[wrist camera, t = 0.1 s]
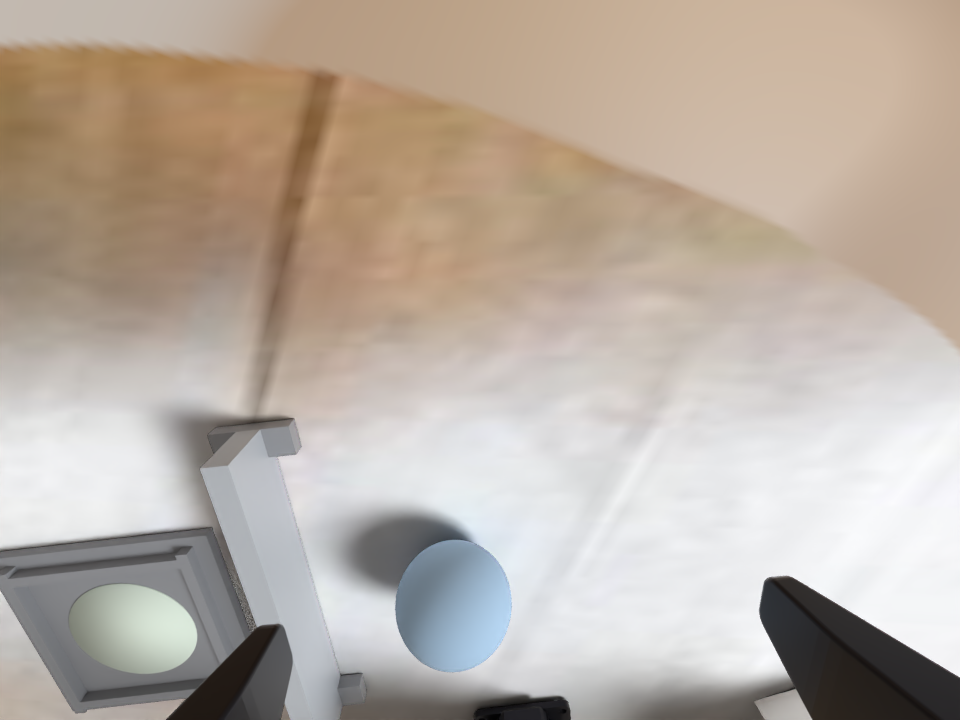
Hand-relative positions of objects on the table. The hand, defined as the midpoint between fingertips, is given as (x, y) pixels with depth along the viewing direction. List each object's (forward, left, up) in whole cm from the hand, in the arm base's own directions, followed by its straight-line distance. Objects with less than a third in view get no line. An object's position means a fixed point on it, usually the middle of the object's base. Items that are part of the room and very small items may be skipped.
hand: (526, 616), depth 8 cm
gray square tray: (-14, +22, -14) cm, 30 cm away
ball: (-12, +3, -14) cm, 19 cm away
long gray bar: (-12, +12, -14) cm, 22 cm away
